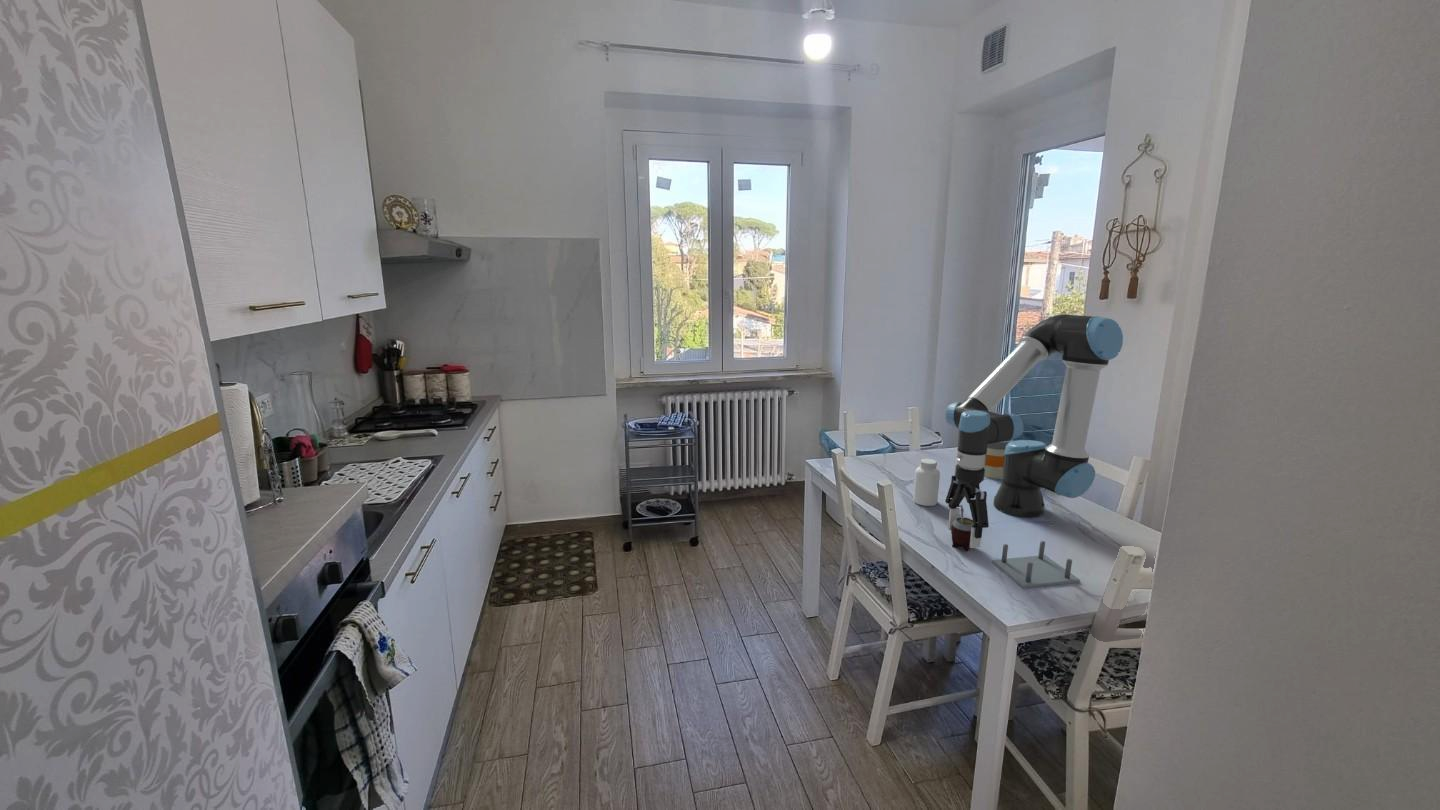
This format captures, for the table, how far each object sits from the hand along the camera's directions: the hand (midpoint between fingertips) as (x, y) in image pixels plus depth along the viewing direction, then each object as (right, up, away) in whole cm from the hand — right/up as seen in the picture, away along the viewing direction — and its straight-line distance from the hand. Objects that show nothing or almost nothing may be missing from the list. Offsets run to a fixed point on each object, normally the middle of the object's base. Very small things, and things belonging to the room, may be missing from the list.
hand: (963, 537), depth 166 cm
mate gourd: (0, -3, +1) cm, 3 cm away
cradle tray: (+13, -6, -13) cm, 20 cm away
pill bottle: (0, +5, +32) cm, 33 cm away
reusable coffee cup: (+35, +11, +57) cm, 68 cm away
